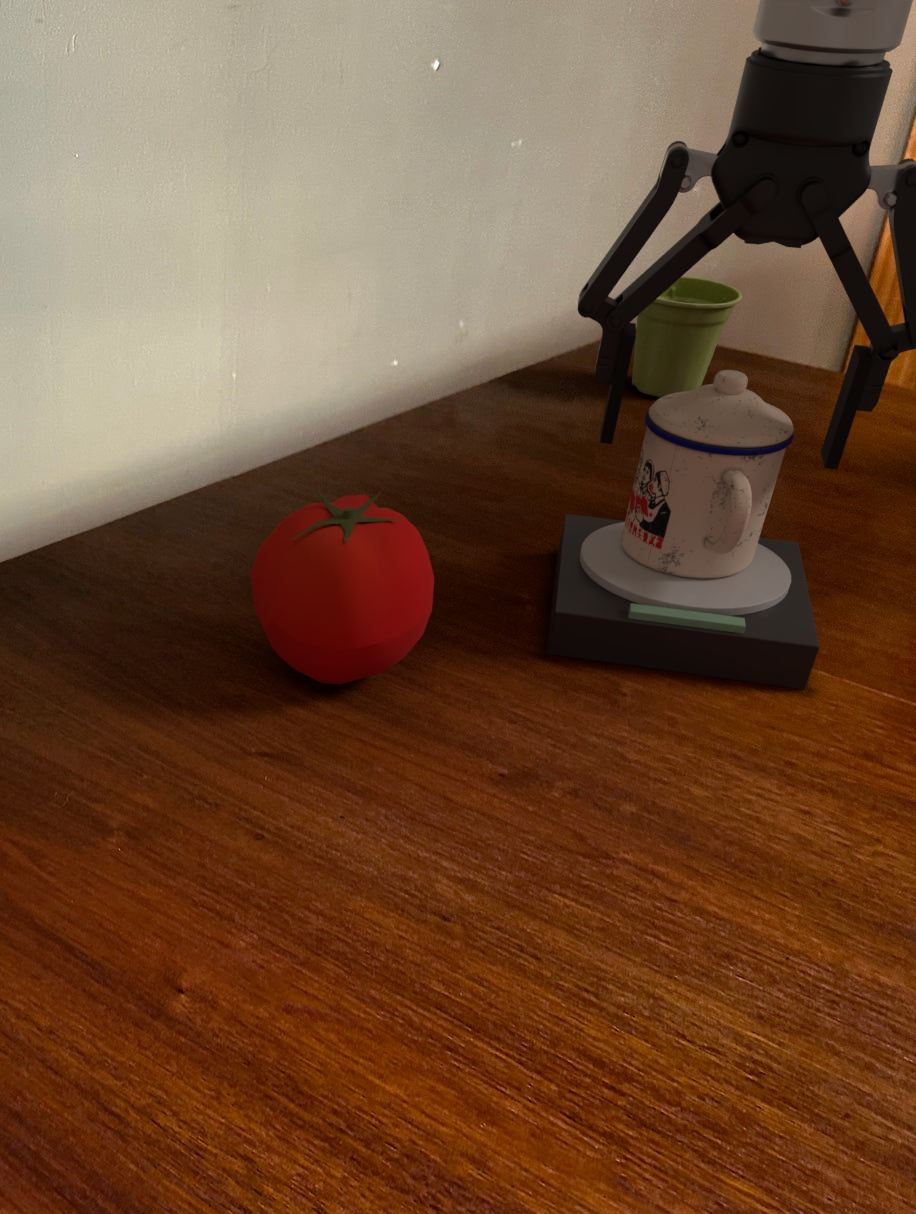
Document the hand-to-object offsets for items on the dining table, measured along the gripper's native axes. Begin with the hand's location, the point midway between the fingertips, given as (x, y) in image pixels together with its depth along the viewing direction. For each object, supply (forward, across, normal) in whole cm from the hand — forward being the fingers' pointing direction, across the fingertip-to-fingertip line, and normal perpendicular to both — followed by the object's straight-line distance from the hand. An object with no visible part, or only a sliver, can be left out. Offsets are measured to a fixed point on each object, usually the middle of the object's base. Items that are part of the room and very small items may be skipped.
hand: (716, 449), depth 89 cm
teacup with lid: (+8, 0, 0) cm, 8 cm away
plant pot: (+11, 0, +47) cm, 49 cm away
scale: (+11, 0, -1) cm, 11 cm away
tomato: (+11, -21, -14) cm, 28 cm away
